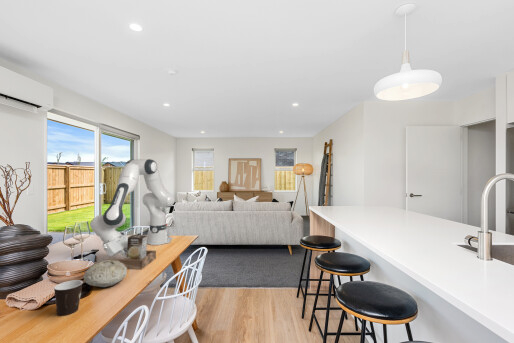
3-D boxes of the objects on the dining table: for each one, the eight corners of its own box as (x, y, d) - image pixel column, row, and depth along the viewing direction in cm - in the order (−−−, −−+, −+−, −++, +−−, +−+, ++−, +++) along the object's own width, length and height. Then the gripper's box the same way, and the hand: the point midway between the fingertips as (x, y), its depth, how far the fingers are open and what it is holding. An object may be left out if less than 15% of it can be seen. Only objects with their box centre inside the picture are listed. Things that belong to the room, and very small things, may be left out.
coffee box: (125, 265, 143) (126, 237, 144) (131, 261, 150) (132, 234, 150) (141, 265, 143) (142, 237, 143) (146, 261, 149) (147, 235, 150)
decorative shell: (135, 278, 125) (135, 258, 125) (105, 294, 107) (106, 271, 108) (106, 274, 129) (106, 255, 129) (73, 289, 112) (74, 267, 112)
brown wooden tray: (125, 259, 156) (125, 250, 156) (155, 260, 155) (155, 250, 155) (107, 270, 137) (107, 259, 137) (141, 271, 137) (141, 260, 137)
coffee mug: (63, 305, 98) (64, 280, 98) (86, 305, 98) (87, 279, 99) (40, 323, 86) (41, 294, 86) (66, 322, 87) (67, 293, 87)
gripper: (105, 239, 136) (122, 257, 136) (125, 231, 157) (140, 247, 156) (97, 247, 136) (113, 265, 136) (118, 238, 157) (133, 254, 156)
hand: (128, 255), depth 146 cm, fingers closed, pressing on coffee box
